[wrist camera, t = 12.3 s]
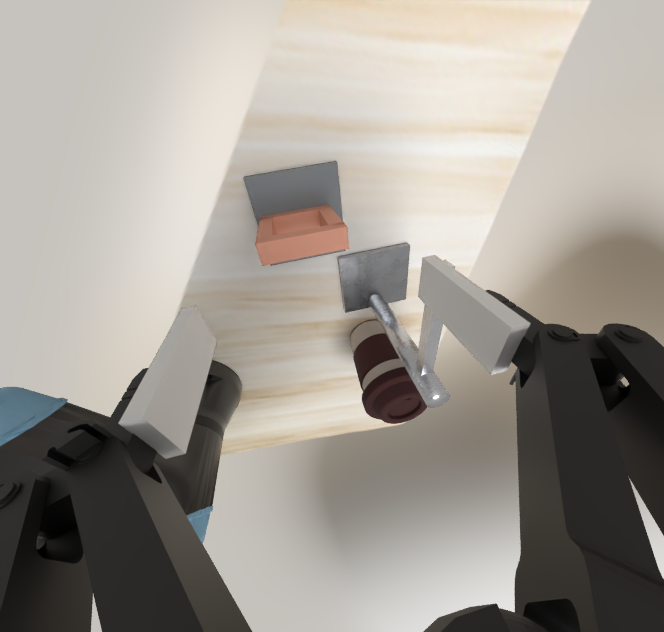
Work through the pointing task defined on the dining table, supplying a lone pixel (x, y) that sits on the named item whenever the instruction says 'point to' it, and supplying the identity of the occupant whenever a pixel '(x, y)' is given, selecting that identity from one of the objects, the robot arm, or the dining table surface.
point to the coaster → (295, 191)
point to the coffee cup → (383, 376)
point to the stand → (390, 286)
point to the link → (300, 234)
